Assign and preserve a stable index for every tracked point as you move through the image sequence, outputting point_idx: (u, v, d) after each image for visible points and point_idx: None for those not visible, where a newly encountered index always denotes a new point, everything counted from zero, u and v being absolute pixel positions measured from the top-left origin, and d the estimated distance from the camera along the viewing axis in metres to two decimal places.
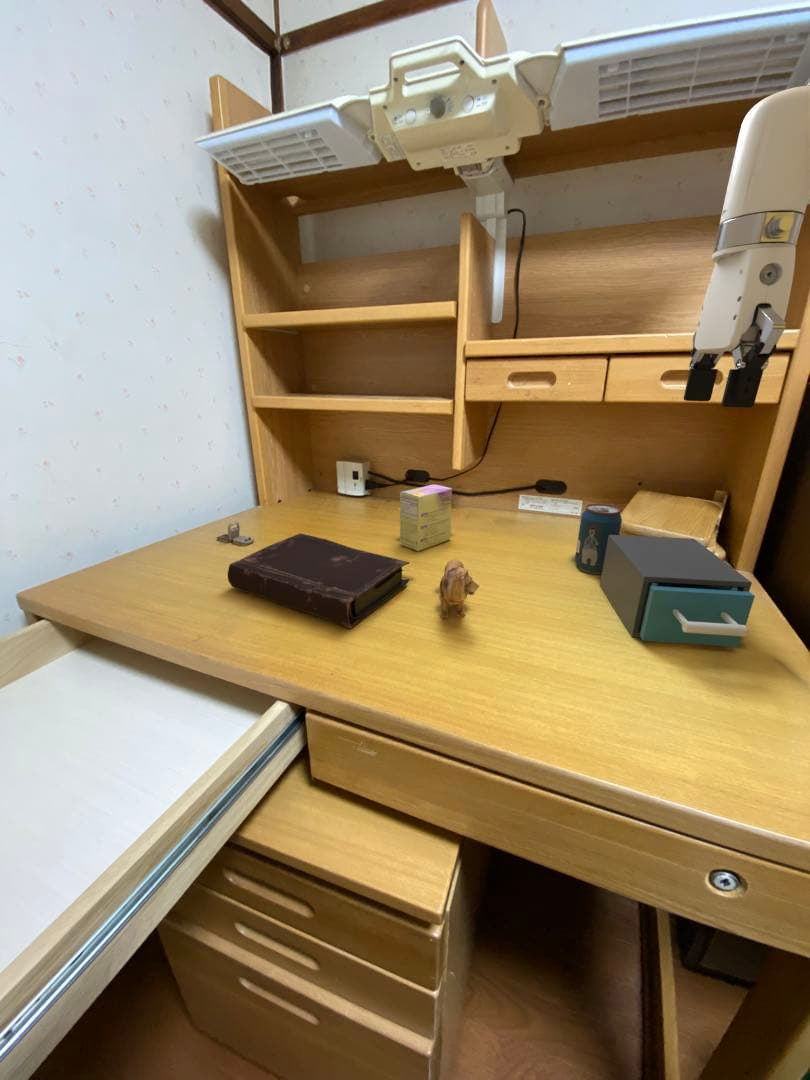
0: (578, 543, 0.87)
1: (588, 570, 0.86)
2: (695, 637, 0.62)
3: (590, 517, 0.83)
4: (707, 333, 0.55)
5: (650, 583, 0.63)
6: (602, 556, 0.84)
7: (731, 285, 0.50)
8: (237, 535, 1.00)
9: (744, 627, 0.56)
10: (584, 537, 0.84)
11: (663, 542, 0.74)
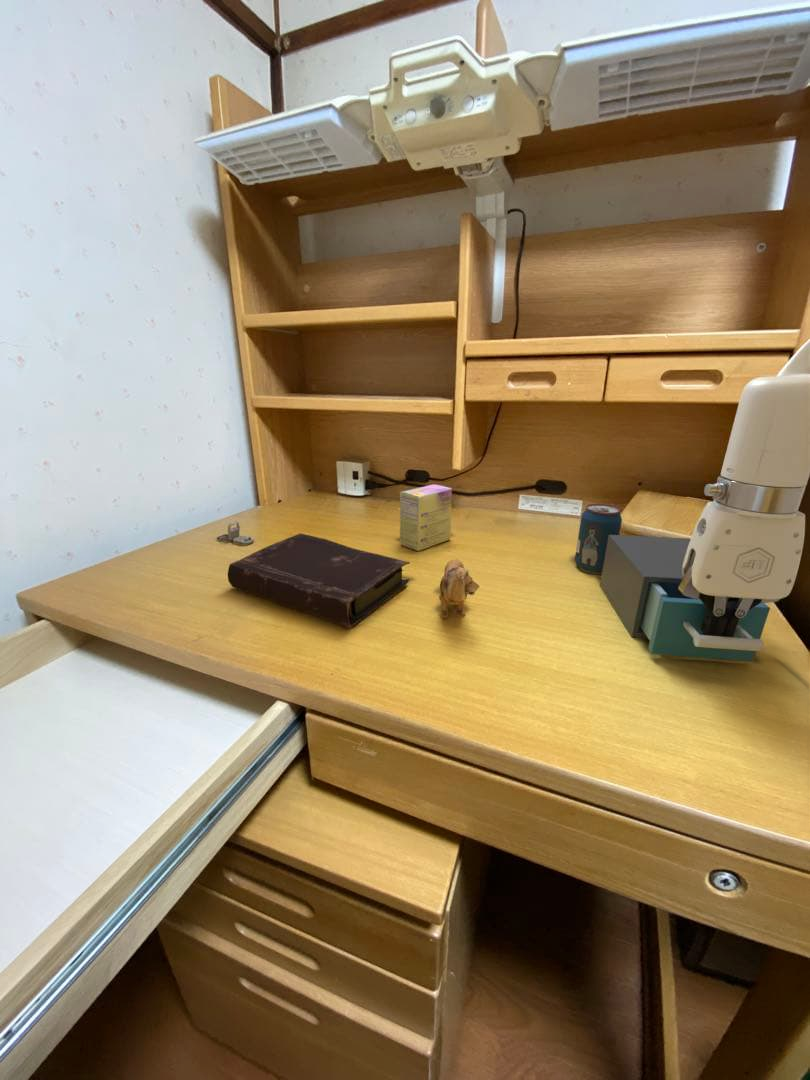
0: (578, 543, 0.87)
1: (588, 570, 0.86)
2: (706, 651, 0.59)
3: (590, 517, 0.83)
4: None
5: (659, 594, 0.60)
6: (602, 556, 0.84)
7: None
8: (237, 535, 1.00)
9: (759, 641, 0.53)
10: (584, 537, 0.84)
11: (663, 542, 0.74)
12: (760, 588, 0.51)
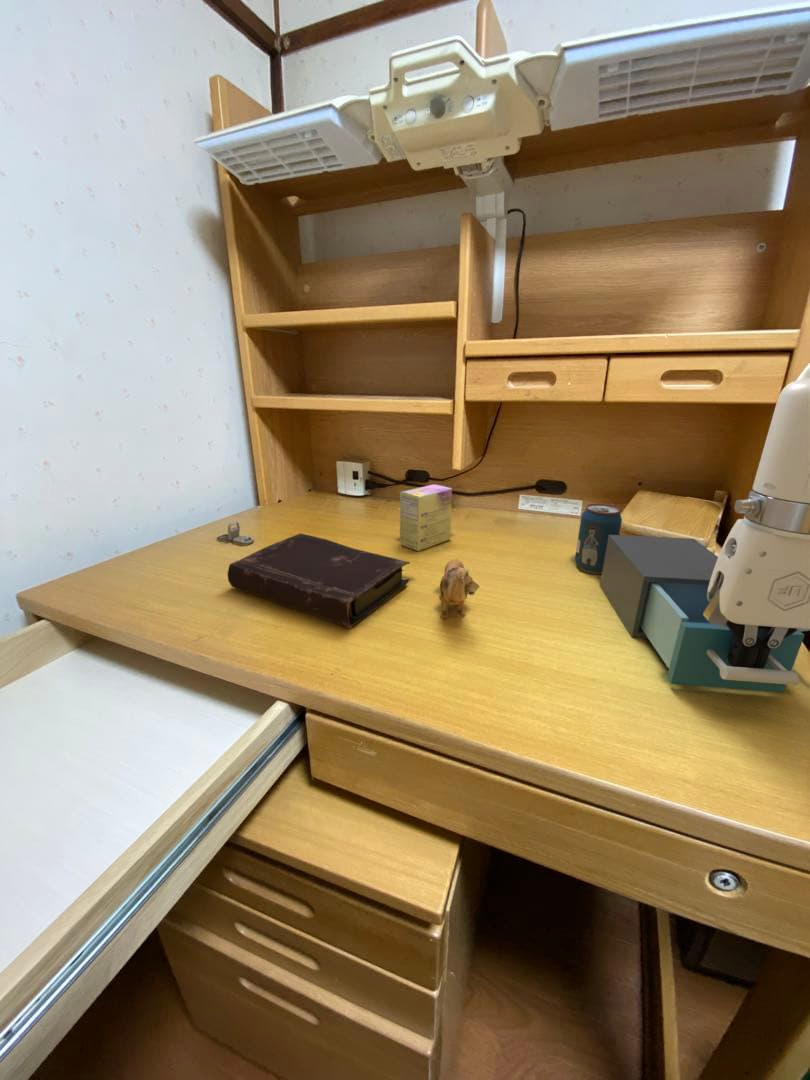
0: (578, 543, 0.87)
1: (588, 570, 0.86)
2: (732, 681, 0.54)
3: (590, 517, 0.83)
4: None
5: (679, 617, 0.55)
6: (602, 556, 0.84)
7: None
8: (237, 535, 1.00)
9: (795, 674, 0.48)
10: (584, 537, 0.84)
11: (663, 542, 0.74)
12: (797, 617, 0.45)
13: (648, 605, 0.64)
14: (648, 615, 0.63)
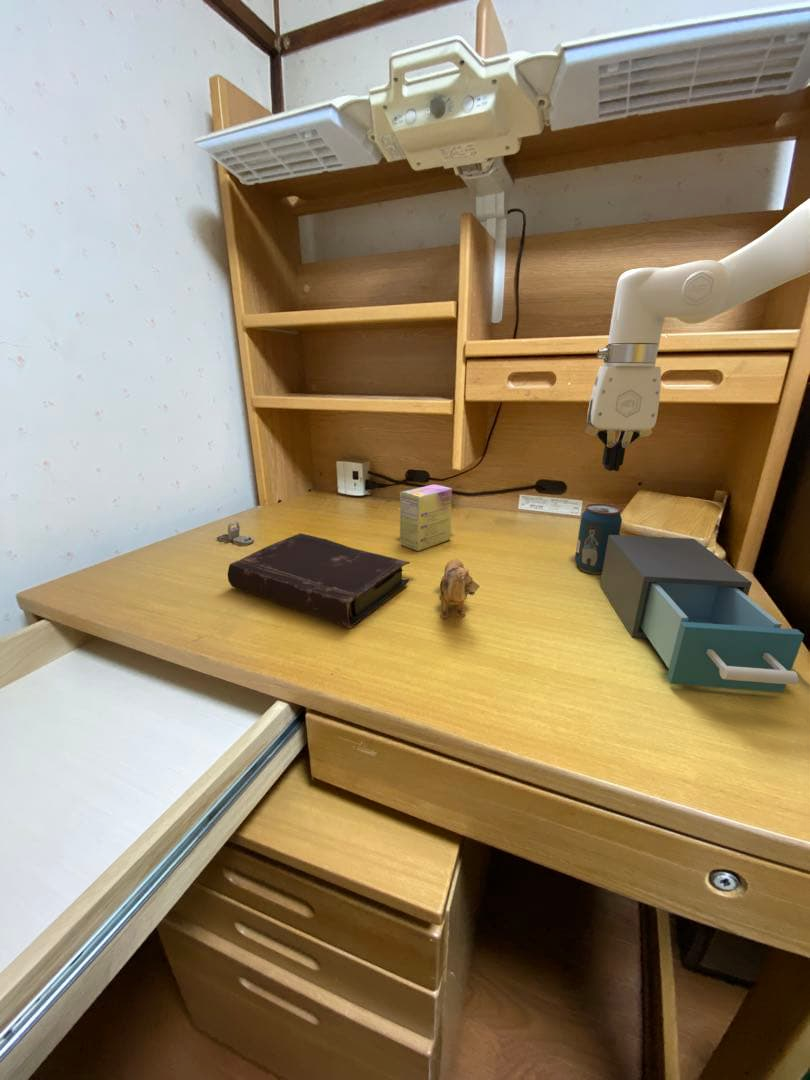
0: (578, 543, 0.87)
1: (588, 570, 0.86)
2: (732, 680, 0.54)
3: (590, 517, 0.83)
4: None
5: (679, 617, 0.55)
6: (602, 556, 0.84)
7: None
8: (237, 535, 1.00)
9: (794, 674, 0.48)
10: (584, 537, 0.84)
11: (663, 542, 0.74)
12: (634, 421, 0.75)
13: (648, 605, 0.64)
14: (648, 615, 0.63)
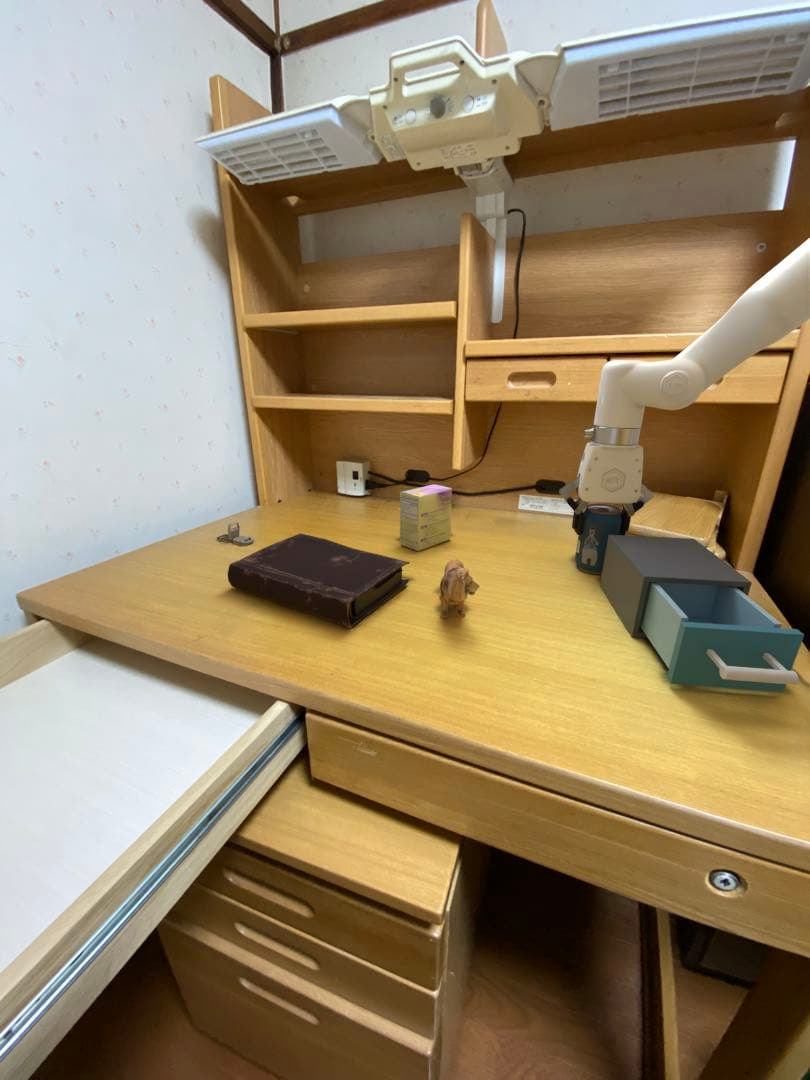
0: (578, 543, 0.87)
1: (588, 570, 0.86)
2: (732, 680, 0.54)
3: (590, 517, 0.83)
4: None
5: (679, 617, 0.55)
6: (602, 556, 0.84)
7: None
8: (237, 535, 1.00)
9: (794, 674, 0.48)
10: (584, 537, 0.84)
11: (663, 542, 0.74)
12: (618, 496, 0.80)
13: (648, 605, 0.64)
14: (648, 615, 0.63)
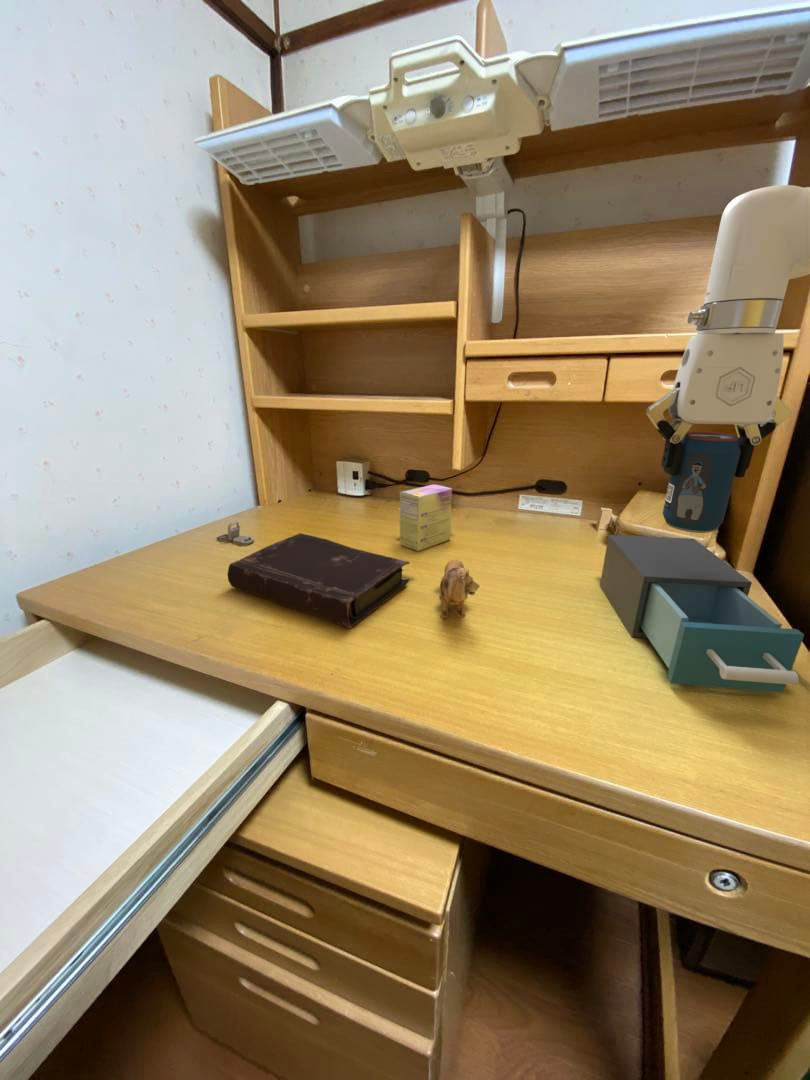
0: (670, 489, 0.60)
1: (686, 527, 0.59)
2: (732, 680, 0.54)
3: (694, 447, 0.56)
4: None
5: (679, 617, 0.55)
6: (710, 505, 0.57)
7: None
8: (237, 535, 1.00)
9: (794, 674, 0.48)
10: (683, 479, 0.58)
11: (663, 542, 0.74)
12: (742, 411, 0.53)
13: (648, 605, 0.64)
14: (648, 615, 0.63)
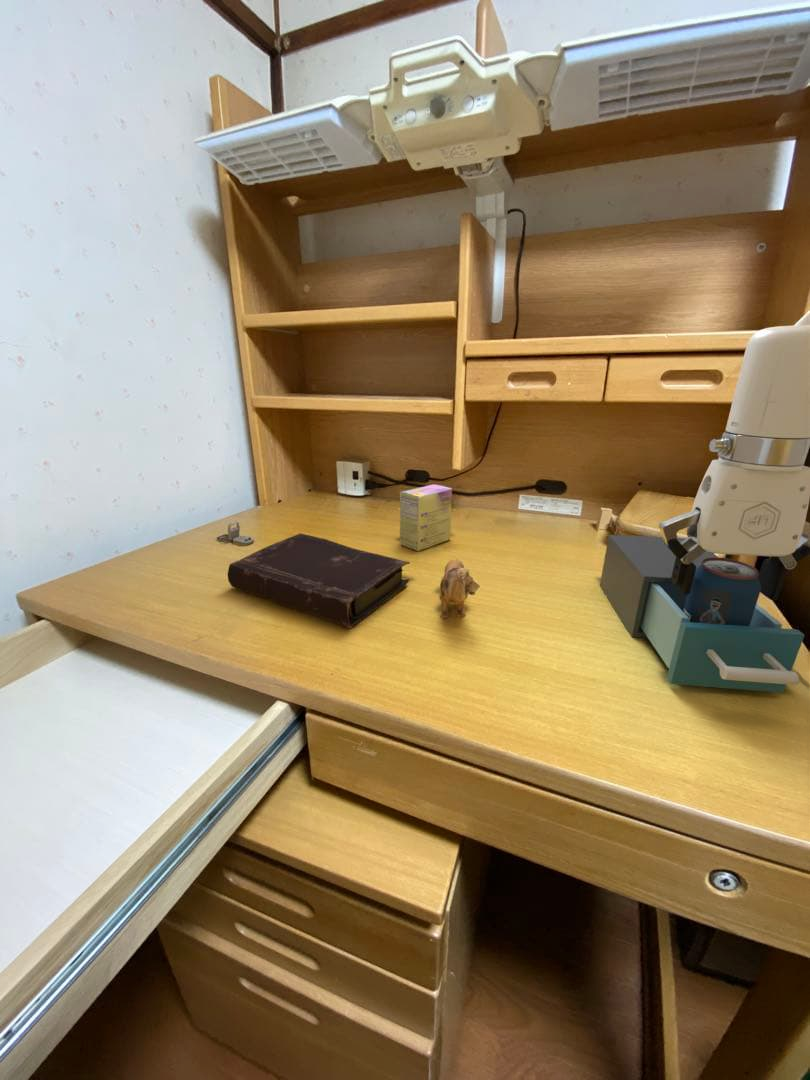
0: None
1: None
2: (732, 681, 0.54)
3: (713, 582, 0.53)
4: None
5: (679, 617, 0.55)
6: None
7: None
8: (237, 535, 1.00)
9: (795, 674, 0.48)
10: (700, 611, 0.55)
11: (663, 542, 0.74)
12: (766, 545, 0.51)
13: (648, 605, 0.64)
14: (648, 615, 0.63)
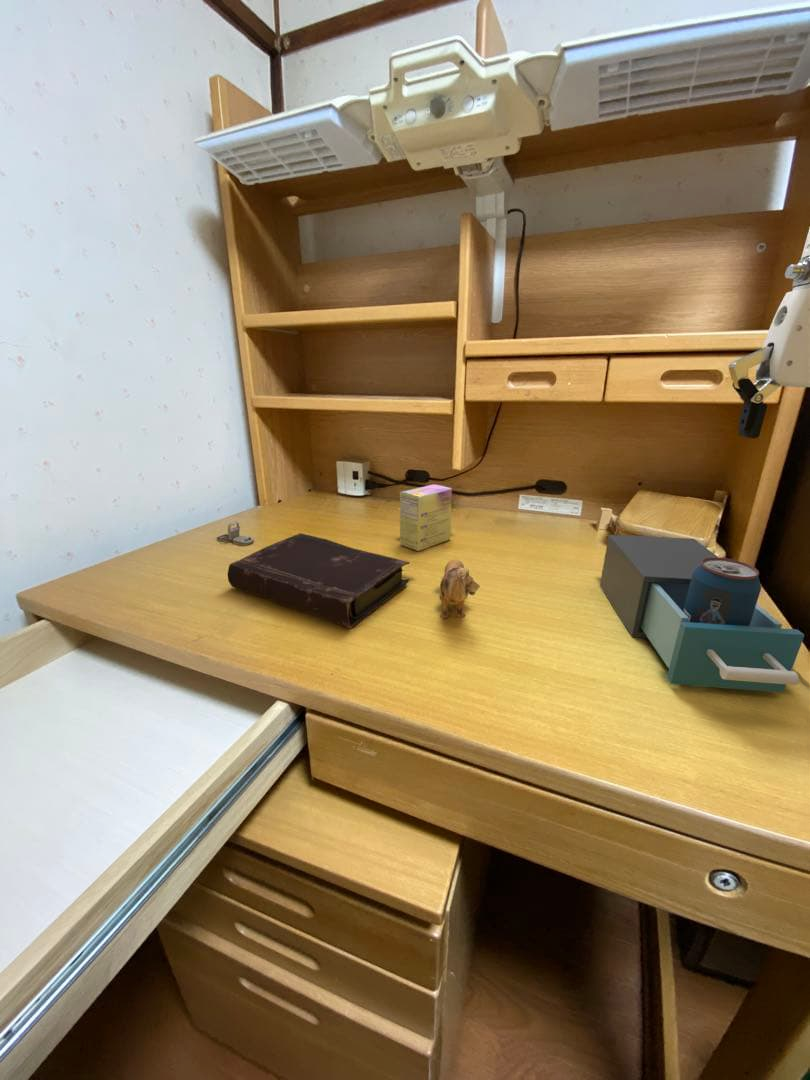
0: None
1: None
2: (732, 681, 0.54)
3: (713, 582, 0.53)
4: None
5: (679, 617, 0.55)
6: None
7: None
8: (237, 535, 1.00)
9: (795, 674, 0.48)
10: (700, 611, 0.55)
11: (663, 542, 0.74)
12: None
13: (648, 605, 0.64)
14: (648, 615, 0.63)
